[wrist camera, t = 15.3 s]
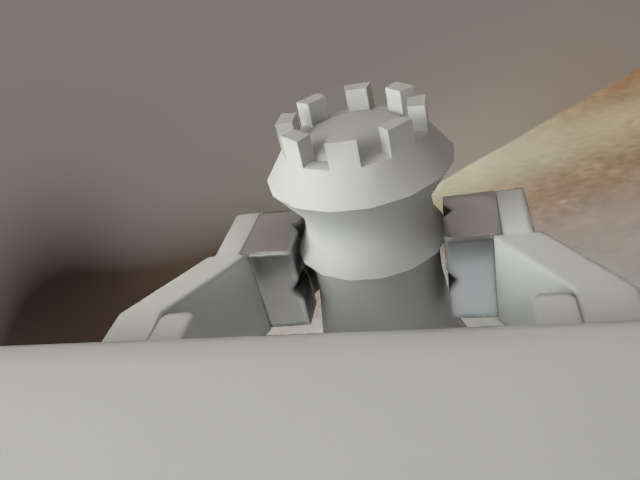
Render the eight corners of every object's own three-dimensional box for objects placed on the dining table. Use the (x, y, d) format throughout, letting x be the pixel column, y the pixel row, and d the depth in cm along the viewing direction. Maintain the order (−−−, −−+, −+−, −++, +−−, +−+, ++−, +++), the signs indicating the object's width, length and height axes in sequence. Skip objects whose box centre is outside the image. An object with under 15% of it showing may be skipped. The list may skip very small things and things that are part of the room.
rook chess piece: (288, 408, 15) (189, 119, 11) (433, 335, 16) (396, 47, 12) (370, 556, 12) (272, 211, 7) (550, 449, 13) (554, 97, 9)
